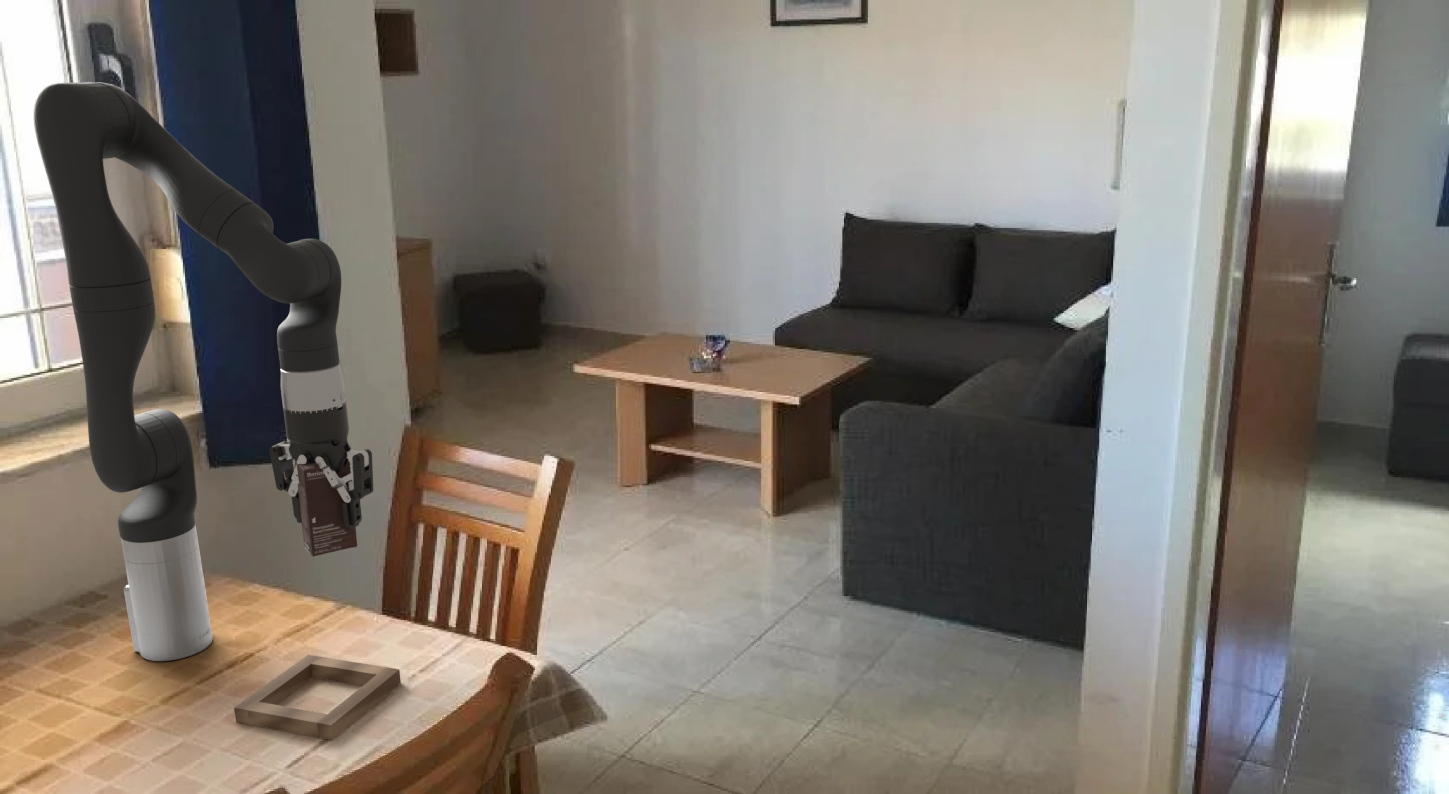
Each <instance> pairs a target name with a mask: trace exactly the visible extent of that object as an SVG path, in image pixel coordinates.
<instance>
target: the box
mask: <svg viewBox="0 0 1449 794" xmlns="http://www.w3.org/2000/svg"><path fill="white" fill-rule="evenodd" d="M350 464H351V462H350V460H349V461H348V462H347V464H346V466H345V465H344V463H343V468H342V470H341V471H340V472H339V473H338V474H337V476H338V477H339V478H343V477H345V476H347V475H348V474H349V473H350V474H351V470H350ZM296 465H297V471H298V475H297V476H298V479H299V484H298V494H299V503H300V512H301V521H302V523H301V529H302V538H303V547H304V549H305V551H306V552H307V553H308V554H309V555H310V556H312V557H317V556H321V555H325V554H330V553H335V552H338V551H343V550H347V549H352V548H356V547H358V540H357V539H358V538H357V537H358V536H357V529H356V528H357V526H356V527H355V528H353V529H346V528H345V524H344V516H343V507H342V503H343V502H344V500H343V499H342V497H341V495H340V494H339V492H338V490H337V489H335V488H333V487H332V486H331V484H330V482H329V481H328V479H327V477H326V476H325V474H324V472H323V470H322V469H320V468H319V467H318V465H317V464H315V463H308V464H306V465H301V464H297V461H296V462H295V461H294V468H295V467H296ZM346 486H347V488H348V489H349V483H348V482H346ZM349 491H350V490H349Z"/></svg>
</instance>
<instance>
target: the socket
mask: <svg viewBox="0 0 1449 794" xmlns="http://www.w3.org/2000/svg"><path fill="white" fill-rule="evenodd" d="M312 679H318V680H326V681H329V682H330V681H332V682H337V683H344V684H348V685H355V686H361V687H360V688H358V689H357V690H356V691H354V692H353V693H352V694H351V695H350V696H348V697H346V699H344V700H343V701H342V702H340V703H339V704H338V705H336V706H335V708H333V709H332V710H331V711H329V712H328V713H322V712H317V711H313V710H312V711H311V710H307V709H300V708H295V707H290V706H283V705H279V703H281V702H282V701H284V700H285V699H286V698H287V697H289V696H290V695H291V694H293V693H294V692H296V691H297V690H298V689H300V688H301V687H302V686H304V685H305V684H307V683H308V682H309V681H310V680H312ZM401 684H402V682H401V673H400V668H395V667H394V668H392V667H386V666H380V665H374V664H368V663H361V662H356V661H350V660H343V659H336V658H332V657H327V656H326V657H325V656H320V655H312V654H307V655H305V656H304V657H303V658H301V659H300V660H298V661H297V662H296V663H294V664H293V665H292V666H290V667H289V668H287V669H286V670H284V671H283V672H281V674H279V675H277V676H276V677H275V678H273V679H272V680H270V681H269V682H268V683H266V684H265V685H263V686H262V687H261V688H259V689H258V690H256V691H255V692H254V693H252V694H251V695H250V696H247V697H246V698H245V699H244V700H243V701H241V702H239V703H238V704H237V705H235V706H234V707H233V712H234V717H235V723H238V724H243V725H249V726H255V727H259V728H266V729H270V730H276V731H281V732H287V733H291V734H296V735H297V734H298V735H302V736H307V737H313V738H319V739H323V740H329V741H334V740H335V739H337V738H338V737H339V736H340V735H341V734H343V733H344V732H345V731H346V730H347V729H348V728H350V727H351V726H352V725H354V723H356V722H357V721H358V720H359V719H360V718H361V717H363V716H364V715H365V714H366V713H367V712H369V711H370V710H371V709H372V708H374V707H375V706H376V705H377V704H378V703H379V702H381V701H382V700H383V699H385V697H386V696H387V695H389V694H390V693H391V692H392V691H394V690H395V689H396V688H397V687H399V686H400V685H401Z"/></svg>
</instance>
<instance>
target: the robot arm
mask: <svg viewBox="0 0 1449 794" xmlns="http://www.w3.org/2000/svg"><path fill="white" fill-rule="evenodd" d="M33 127H34V132H35V138H36V142H37V147H38V149H39V153H40V157H41V160H42V164H43V167H44V171H45V174H46V177H47V180H48V184H49V188H50V192H51V195H52V198H53V199H52V200H53V203H54V206H55V207H54V208H55V210H56V212H55V213H56V217H57V223H58V227H59V232H60V237H61V242H62V246H63V252H64V257H65V263H66V270H67V279H68V285H69V291H70V292H69V293H70V299H71V303H72V304H71V305H72V310H73V315H74V320H75V325H76V329H77V335H78V339H79V340H78V341H79V346H80V347H79V348H80V353H81V361H82V366H83V374H84V383H85V395H86V396H85V398H86V416H87V417H86V419H87V432H88V444H89V452H90V456H91V461H92V464H93V467H94V469H95V472H96V474H97V477H98V478H99V481H101V483H102V484H103V485H104V486H105V487H106V488H108V489H109V490H111V491H112V492H115V493H120V494H121V493H128V492H132V491H136V490H139V489H140V491H139V493H138V494H137V496H136V497H135V498H134V499H133V501H132V502H131V503H129V505H127V506H126V507H125V508H124V509H123V510H122V511H121V513H120V514H119V515H118V519H117V527H118V533H119V537H120V542H121V547H122V554H123V559H124V565H125V571H126V577H127V583H128V584H126V585H125V586H124V587H123V594H124V599H125V606H126V613H127V616H128V622H129V623H128V624H129V630H130V634H131V635H130V636H131V640H132V647H133V652H137V653H139V654H140V656H141V657H142V658H143V659H146V660H148V661H153V662H166V661H167V662H168V661H175V660H180V659H184V658H186V657H191V656H194V655H195V654H198V653H200V652H202V651H203V650H206V649H207V648H208V647H209V645H211V644H212V641H213V633H212V626H211V618H210V611H209V603H208V598H207V591H206V586H205V585H206V583H205V578H204V577H205V576H204V571H203V566H202V557H201V553H200V546H199V539H198V532H197V527H196V526H197V525H196V519H195V512H196V509H197V506H198V505H197V503H198V495H197V485H196V472H195V461H194V459H195V458H194V451H193V445H192V440H191V436H190V434H189V431H188V429H187V428H186V425H185V423H184V422H183V421H182V419H181V418H180V417H179V416H178V415H177V414H176V413H174V412H173V411H170V410H168V409H163V408H157V409H151V410H148V411H144V412H141V413H138V414H135V409H134V385H135V378H136V374H137V371H138V368H139V366H140V363H141V361H142V357H143V356H144V353H145V351H146V348H147V346H148V343H149V340H150V337H151V335H152V332H153V328H154V324H155V319H156V306H155V304H156V303H155V297H154V292H153V287H152V286H153V285H152V279H151V278H152V277H151V274H150V268H149V265H148V261H147V259H146V257H145V255H144V253H143V251H142V250H141V248H140V246H139V245H138V243H137V242H136V240H135V239H134V237H133V236H132V234H131V233H130V231H129V230H128V229H127V227H126V226H125V224H124V222H122V220H121V219H120V217H119V215H118V214H117V212H116V209H115V208H114V206H113V204H112V201H111V199H110V194H109V190H108V186H107V179H106V175H105V167H104V160H107V159H113V158H115V159H117V160H119V161H121V162H124V163H126V164H128V165H129V166H131V167H133V168H135V169H137V170H138V171H140V172H141V173H143V174H145V175H146V176H147V177H148V178H150V179H151V180H152V181H153V182H154V183H155V184H156V185H157V186H158V187H159V188H160V190H161V191H162V192H163V194H164V195H165V197H166V199H167V200H168V202H169V204H170V205H171V208H172V209H173V210H174V212H175V213H176V215H178V217H179V218H180V219H181V220H182V221H183V222H184V223H185V224H186V225H187V226H188V227H189V228H191V229H192V230H193V231H194V232H195V233H196V234H199V235H200V237H202V238H203V239H205V241H206V240H207V242H209V243H210V244H212V245H213V246H215V247H216V248H217V249H219V250H220V251H222V252H223V253H225V254H226V255H227V256H229V258H230V259H231V260H232V261H233V262H234V264H235V265H236V267H237V268H238V269H239V270H240V271H241V272H242V274H244V276H245V277H246V278H247V279H248V281H250V283H251V284H252V285H253V286H254V287H255V288H256V289H257V290H258V291H259V292H261V293H262V294H263V295H265V297H268V298H269V299H272V300H274V301H276V302H279V303H282V304H289V305H290V307H289V313H288V315H287V317H286V318H285V319H284V320H283V321H282V322H281V323H280V324H279V325H278V328H277V330H276V331H277V332H276V342H277V343H276V344H277V352H278V358H279V359H278V360H279V367H280V391H281V392H280V394H281V401H282V410H283V418H284V426H285V433H286V434H285V435H286V438H287V439H288V441H290V443H289V442H288V441H287V440H284V441H282V442H279V443H277V444H274V445H272V446H270V447H269V450H268V451H269V456H270V460H271V461H270V462H271V465H272V466H271V467H272V472H273V477H274V481H275V486H276V489H277V491H280V492H282V491H285V492H287V493H288V495H289V496H290V497H291V503H292V504H291V505H292V511H293V516H294V518H295V519H296V522H297V523H298V524H302V521H301V512H300V503H299V494H298V484H299V479H298V476H297V475H298V471H297V465H296V467H295V466H294V463H295V462H296V461H297V464H301V465H306V464H308V463H315V464H317V465H318V467H319V468H320V469H322V470H323V472H324V474H325V476H326V477H327V479H328V481H329V482H330V484H331V486H332V487H333V488H335V489H337V490H338V492H339V494H340V495H341V497H342V499H343V500H344V502H343V503H342V507H343V516H344V524H345V528H346V529H353V528H355V527H356V528H357V527H359V525H360V523H361V522H362V518H363V517H362V508H361V507H362V506H361V500H363V498H365V497H366V496H368V495H371V494H372V493H373V492H374V472H373V471H374V470H373V453H372V451H371V449H369V448H366V449H363V450H355V449H352V447H351V446H350V444H349V442H348V436H349V431H350V427H349V418H348V417H349V416H348V408H347V399H346V390H345V381H344V376H343V373H342V372H343V371H342V368H341V364H340V355H339V347H338V337H337V323H338V318H339V312H340V311H339V310H340V301H341V294H342V271H341V266H340V263H339V259H338V257H337V255H336V253H335V251H334V250H333V249H332V248H331V246H329V244H327V243H325V242H324V241H321V240H319V239H317V238H304V239H303V238H302V239H299V240H295V241H292V242H289V243H286V242H284V241H282V240H281V239H279V238H278V237H277V236H275V234H274V227H275V226H274V221H273V218H272V217H271V216H270V214H269V213H268V212H267V211H266V210H264V209H263V208H262V207H261V206H259V205H258V204H257V203H255V202H254V201H253V200H251V199H249V198H248V197H247V196H246V195H244V194H242V192H240V191H239V190H237V189H236V188H234V187H233V186H232V185H230V184H229V183H227V182H226V181H224V179H222V178H221V177H220V176H218V175H216V174H215V173H214V172H213V171H211V169H209V168H208V167H207V166H206V165H204V164H203V163H202V162H201V161H200V160H199V159H197V158H196V157H195V156H194V155H193V154H192V153H191V152H190V151H188V149H186V148H185V147H184V146H183V145H182V144H181V143H180V142H179V141H178V140H177V139H176V138H175V137H174V136H173V135H172V134H171V133H170V132H169V131H168V130H167V129H166V128H165V127H164V126H163V125H162V124H160V122H159V121H158V120H157V119H156V118H154V117H153V115H152V114H150V113H149V111H148V110H147V109H146V108H145V107H144V106H142V104H140V102H139V101H138V100H136V99H135V98H134V97H133V96H132V95H130V94H129V93H128V92H127V91H126V90H125V89H123V88H122V87H119V86H118V85H115V84H113V83H108V82H107V83H106V82H101V81H100V82H99V81H88V82H85V81H83V82H82V81H81V82H59V83H53V84H50V85H47V86H45V87H44V88H43V89H42V90H41V91H40V92H39V93H38V95H37V97H36V100H35V103H34V106H33ZM293 460H294V463H293ZM348 461H349V462H350V470H351V474H350V473H349V474H348V475H347V476H345V477H343V478H339V477H338V476H337V474H338V473H339V472H340V471H341V470H342V468H343V463H344V465H345V466H346V464H347V462H348ZM346 482H348V483H349V489H348V488H347V486H346ZM349 490H350V491H349Z"/></svg>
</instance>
